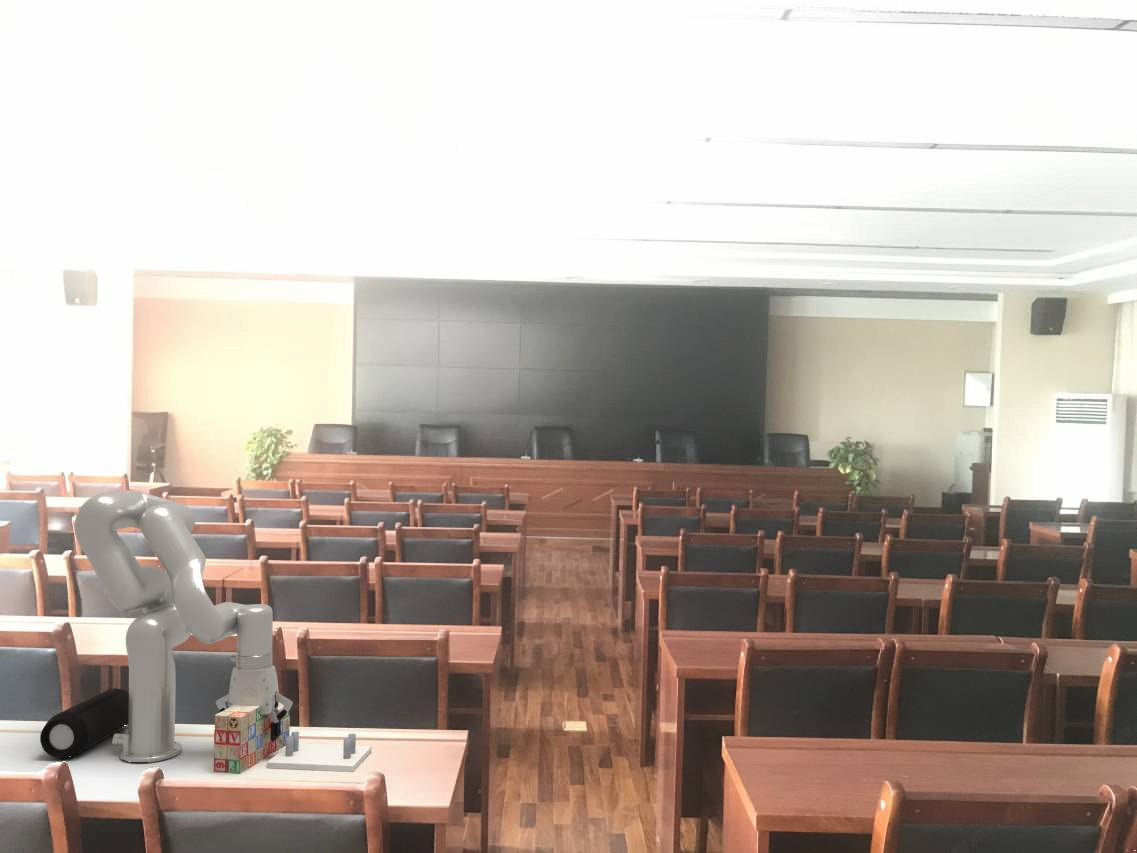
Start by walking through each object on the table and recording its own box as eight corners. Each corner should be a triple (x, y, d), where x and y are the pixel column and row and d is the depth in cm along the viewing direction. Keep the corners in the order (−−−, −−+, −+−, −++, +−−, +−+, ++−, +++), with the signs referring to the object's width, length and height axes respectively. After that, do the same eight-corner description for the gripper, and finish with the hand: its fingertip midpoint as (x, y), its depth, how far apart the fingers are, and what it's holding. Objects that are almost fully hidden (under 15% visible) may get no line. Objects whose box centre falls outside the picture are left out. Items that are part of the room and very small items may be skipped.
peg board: (266, 768, 197) (267, 743, 198) (290, 748, 210) (290, 725, 211) (353, 771, 196) (353, 747, 196) (371, 751, 209) (371, 728, 209)
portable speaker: (100, 726, 226) (101, 685, 226) (140, 727, 225) (141, 686, 226) (35, 761, 200) (36, 715, 201) (79, 762, 200) (80, 716, 200)
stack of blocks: (265, 741, 216) (266, 688, 216) (289, 743, 215) (290, 689, 215) (213, 772, 195) (214, 714, 195) (240, 774, 194) (241, 716, 194)
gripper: (209, 664, 202) (208, 743, 202) (285, 666, 200) (285, 745, 200) (224, 656, 209) (224, 732, 209) (298, 658, 208) (298, 734, 208)
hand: (253, 738), depth 205 cm, fingers open, 9 cm apart
